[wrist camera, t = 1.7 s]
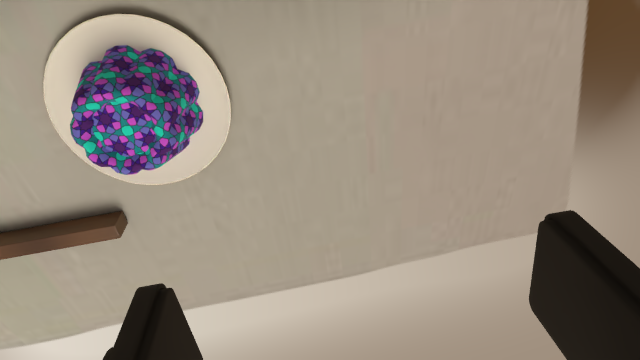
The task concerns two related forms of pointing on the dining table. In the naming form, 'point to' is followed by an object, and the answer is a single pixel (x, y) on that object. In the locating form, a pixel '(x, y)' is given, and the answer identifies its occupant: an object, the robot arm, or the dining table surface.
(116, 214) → the frame
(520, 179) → the dining table surface
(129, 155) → the pudding
